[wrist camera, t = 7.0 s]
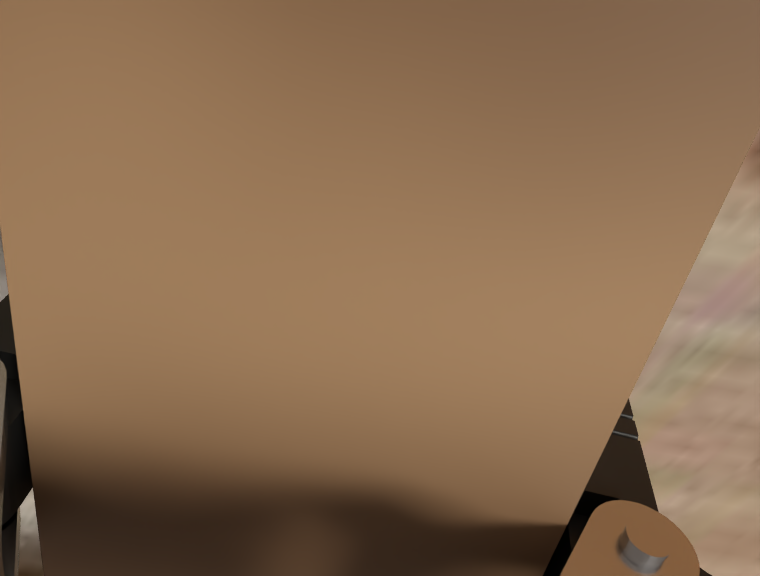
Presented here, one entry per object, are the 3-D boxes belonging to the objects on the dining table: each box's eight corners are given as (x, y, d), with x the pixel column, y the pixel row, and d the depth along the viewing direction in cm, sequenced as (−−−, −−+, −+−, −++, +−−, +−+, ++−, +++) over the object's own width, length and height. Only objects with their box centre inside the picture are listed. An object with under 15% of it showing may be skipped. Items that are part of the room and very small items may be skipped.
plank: (201, -469, 8) (-132, -826, 3) (757, -352, 8) (1094, -567, 3) (170, 572, 17) (72, 809, 13) (415, 624, 17) (396, 877, 13)
